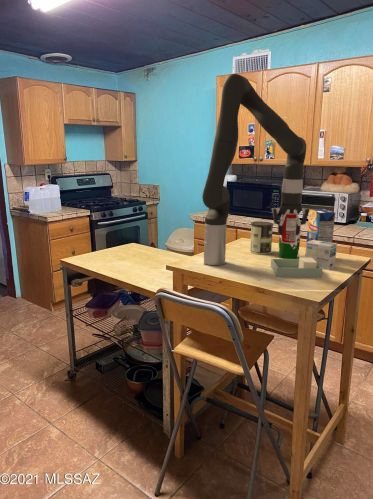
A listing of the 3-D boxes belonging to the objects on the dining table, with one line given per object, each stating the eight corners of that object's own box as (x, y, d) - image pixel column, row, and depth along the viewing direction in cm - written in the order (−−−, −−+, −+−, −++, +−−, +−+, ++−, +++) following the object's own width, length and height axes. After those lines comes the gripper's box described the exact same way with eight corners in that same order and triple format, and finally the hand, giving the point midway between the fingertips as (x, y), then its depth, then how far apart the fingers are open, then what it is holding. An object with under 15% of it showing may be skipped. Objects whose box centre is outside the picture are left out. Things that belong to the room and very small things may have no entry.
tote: (276, 277, 148) (277, 268, 148) (270, 268, 161) (271, 258, 160) (321, 278, 148) (322, 268, 147) (311, 268, 161) (312, 259, 160)
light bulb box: (335, 268, 162) (337, 243, 159) (328, 271, 157) (331, 245, 154) (310, 263, 169) (313, 239, 166) (303, 266, 164) (306, 241, 161)
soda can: (285, 240, 155) (288, 210, 152) (298, 242, 151) (300, 212, 148) (278, 242, 152) (280, 211, 149) (290, 244, 148) (292, 213, 145)
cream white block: (302, 274, 151) (303, 262, 150) (298, 269, 158) (299, 257, 156) (315, 274, 151) (317, 262, 150) (310, 269, 158) (311, 257, 156)
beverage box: (315, 262, 170) (320, 212, 164) (305, 255, 180) (309, 209, 175) (330, 262, 171) (335, 212, 165) (319, 255, 181) (323, 208, 176)
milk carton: (277, 254, 182) (280, 212, 177) (297, 255, 180) (301, 213, 175) (278, 259, 173) (281, 215, 168) (299, 261, 172) (302, 216, 167)
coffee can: (272, 250, 190) (274, 222, 186) (270, 255, 180) (272, 225, 177) (251, 248, 193) (252, 220, 190) (248, 253, 184) (249, 224, 180)
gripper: (274, 192, 143) (271, 236, 147) (313, 192, 143) (309, 237, 147) (271, 190, 150) (268, 232, 155) (308, 190, 150) (304, 233, 154)
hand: (288, 234), depth 151 cm, fingers closed on soda can, 5 cm apart
